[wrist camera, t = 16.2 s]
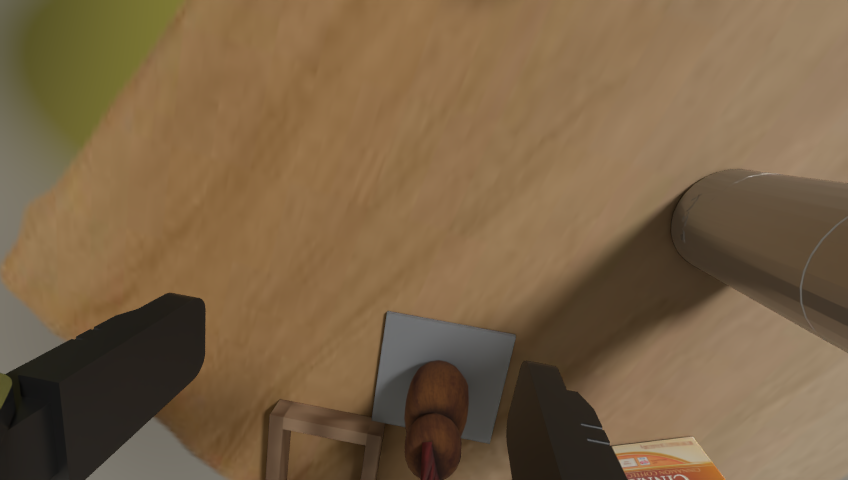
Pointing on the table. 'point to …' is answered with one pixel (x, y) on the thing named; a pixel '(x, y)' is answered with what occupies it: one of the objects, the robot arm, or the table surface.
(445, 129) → the table surface
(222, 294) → the table surface
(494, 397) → the mat
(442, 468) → the wooden figurine
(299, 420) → the square wooden frame
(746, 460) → the table surface
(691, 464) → the coffeecake box
